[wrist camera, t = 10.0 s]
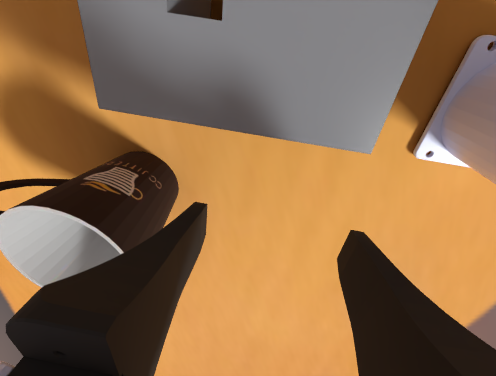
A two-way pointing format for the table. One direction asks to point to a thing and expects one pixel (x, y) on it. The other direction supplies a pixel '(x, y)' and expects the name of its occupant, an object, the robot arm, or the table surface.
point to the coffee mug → (87, 217)
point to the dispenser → (257, 63)
